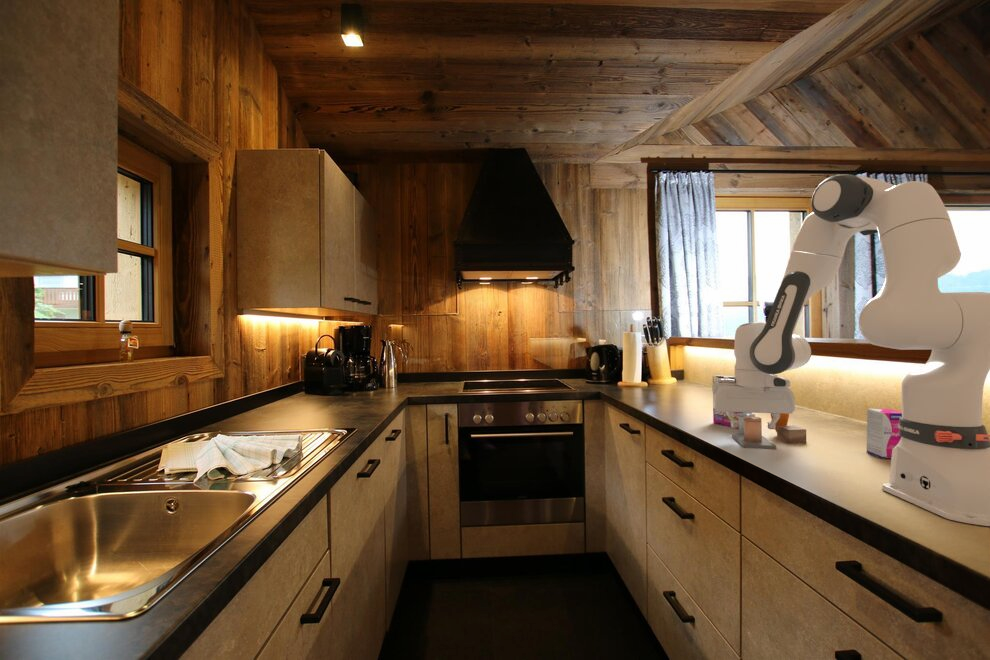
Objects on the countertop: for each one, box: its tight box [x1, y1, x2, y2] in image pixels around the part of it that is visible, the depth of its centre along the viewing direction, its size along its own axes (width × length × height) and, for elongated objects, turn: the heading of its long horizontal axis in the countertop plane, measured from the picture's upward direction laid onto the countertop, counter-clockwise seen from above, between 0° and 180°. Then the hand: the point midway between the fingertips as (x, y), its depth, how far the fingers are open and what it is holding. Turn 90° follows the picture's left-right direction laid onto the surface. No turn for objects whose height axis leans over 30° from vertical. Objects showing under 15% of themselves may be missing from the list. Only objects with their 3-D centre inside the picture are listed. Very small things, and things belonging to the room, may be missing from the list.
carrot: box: [770, 413, 790, 433], centre depth 135 cm, size 5×5×15 cm
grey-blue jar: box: [738, 413, 756, 435], centre depth 137 cm, size 4×4×6 cm
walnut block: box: [776, 425, 807, 445], centre depth 129 cm, size 5×5×4 cm
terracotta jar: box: [744, 416, 763, 442], centre depth 128 cm, size 4×4×6 cm
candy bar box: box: [712, 374, 753, 429], centre depth 150 cm, size 11×5×16 cm, turn 25°
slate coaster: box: [731, 433, 777, 450], centre depth 128 cm, size 12×8×1 cm, turn 165°
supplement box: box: [866, 408, 902, 459], centre depth 113 cm, size 6×6×12 cm
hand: (752, 428), depth 128 cm, fingers open, 8 cm apart
